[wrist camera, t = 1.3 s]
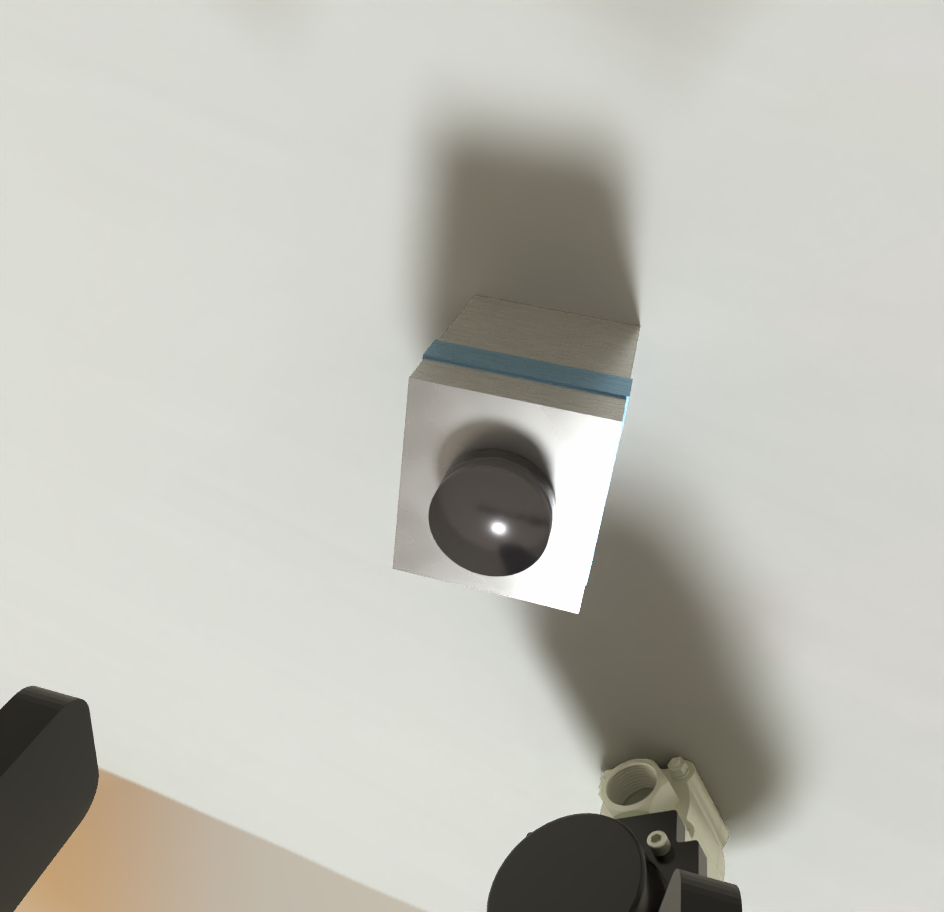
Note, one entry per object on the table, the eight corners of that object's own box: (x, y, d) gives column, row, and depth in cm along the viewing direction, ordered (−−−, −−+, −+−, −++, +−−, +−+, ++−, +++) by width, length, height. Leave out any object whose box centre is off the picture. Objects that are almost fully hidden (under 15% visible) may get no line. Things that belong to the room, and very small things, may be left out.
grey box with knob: (642, 324, 22) (621, 441, 16) (605, 489, 25) (574, 644, 19) (473, 293, 23) (391, 393, 17) (454, 455, 25) (377, 595, 19)
